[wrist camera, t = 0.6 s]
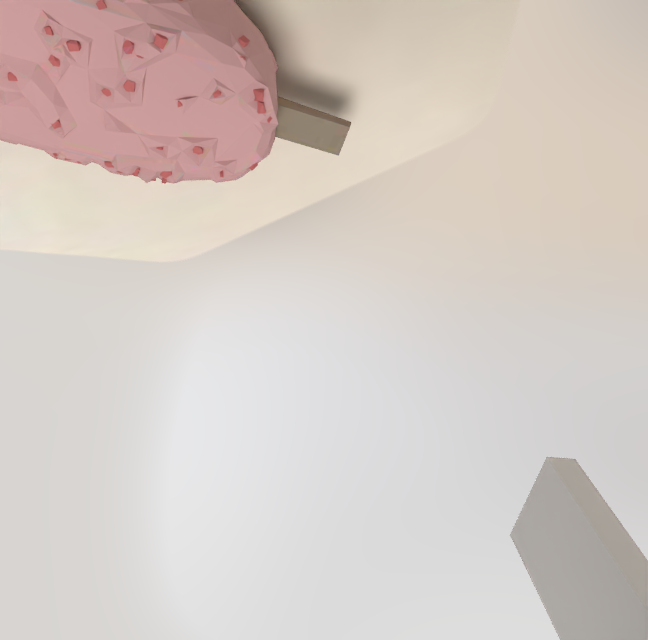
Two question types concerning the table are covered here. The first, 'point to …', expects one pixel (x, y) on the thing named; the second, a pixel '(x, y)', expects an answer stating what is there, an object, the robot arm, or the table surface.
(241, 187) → the table surface
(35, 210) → the table surface
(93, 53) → the ice cream bar
